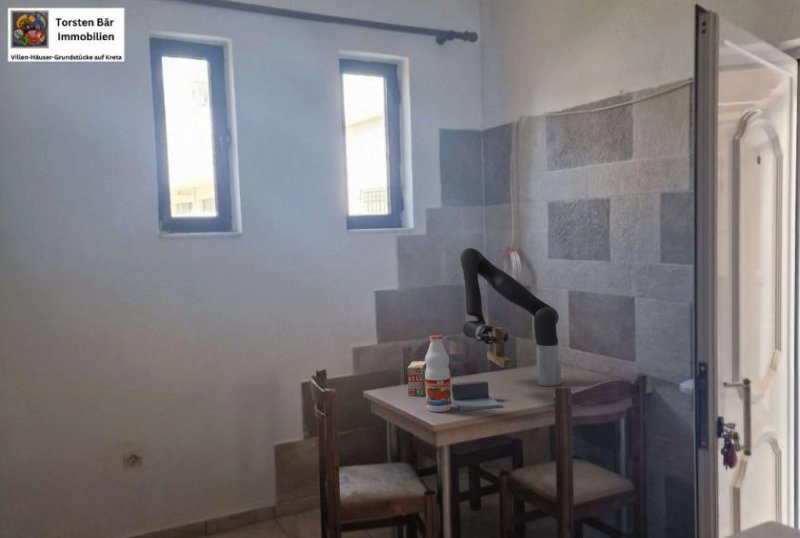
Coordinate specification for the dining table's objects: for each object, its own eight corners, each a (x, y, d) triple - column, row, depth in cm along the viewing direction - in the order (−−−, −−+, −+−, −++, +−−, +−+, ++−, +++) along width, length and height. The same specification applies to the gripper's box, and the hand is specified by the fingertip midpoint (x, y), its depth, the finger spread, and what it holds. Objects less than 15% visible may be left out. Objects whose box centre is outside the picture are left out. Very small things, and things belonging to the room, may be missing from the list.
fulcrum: (479, 391, 260) (479, 375, 260) (501, 407, 235) (500, 388, 234) (442, 394, 257) (442, 378, 257) (460, 410, 232) (459, 392, 231)
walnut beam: (494, 358, 258) (493, 324, 257) (512, 367, 238) (511, 331, 238) (486, 358, 257) (485, 325, 257) (503, 368, 238) (502, 331, 237)
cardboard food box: (416, 384, 279) (415, 357, 278) (430, 384, 278) (429, 357, 277) (408, 396, 258) (407, 366, 257) (423, 396, 257) (422, 366, 256)
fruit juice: (449, 405, 240) (447, 333, 239) (452, 411, 231) (450, 336, 230) (425, 406, 240) (422, 334, 239) (427, 413, 230) (424, 338, 229)
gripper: (470, 326, 260) (483, 331, 243) (502, 323, 263) (517, 329, 246) (470, 343, 260) (483, 350, 243) (503, 341, 263) (518, 348, 246)
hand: (500, 339), depth 245 cm, fingers closed on walnut beam, 3 cm apart
